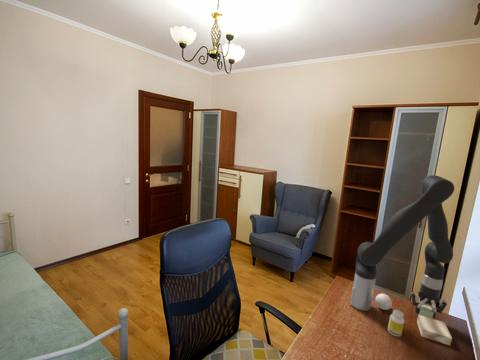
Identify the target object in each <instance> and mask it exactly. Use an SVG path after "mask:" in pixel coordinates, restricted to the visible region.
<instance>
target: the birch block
mask: <svg viewBox="0 0 480 360" xmlns="http://www.w3.org/2000/svg"><path fill="white" fill-rule="evenodd" d="M416 323H417V326H418V329H419V333H420V336H421V337H423V338H426V339H428V340H431V341H435V342H438V343H441V344H444V345H447V346H452V345H451V343H452V341H453V337H452V335H451V333H450V331H449V329H448V327H447V326H448V325H447V324H446V322H445V321H441V320H438V319H435V318H433V319H432V318H428V317H425V316H421V315H418V314H417V319H416Z"/></svg>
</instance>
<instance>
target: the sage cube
mask: <svg viewBox="0 0 480 360" xmlns="http://www.w3.org/2000/svg"><path fill="white" fill-rule="evenodd" d="M433 314H434V313H433V310H432V306H431V305H430V306H429V305H427V304H423V305H422V306H421V307H420V311H419V315H421V316H425V317H428V318H432V319H434V318H433Z"/></svg>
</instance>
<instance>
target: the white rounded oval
mask: <svg viewBox="0 0 480 360" xmlns="http://www.w3.org/2000/svg"><path fill="white" fill-rule="evenodd" d="M374 301H375V304H376V306H377V307H378V308H379V309H381V310H384V311H385V310H386V311H387V310H390V309H391V308H392V305H393V301H392V299H391V297H390V295H387V294H385V293H378V294H377V295H376V296H375V298H374Z"/></svg>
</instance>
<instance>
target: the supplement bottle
mask: <svg viewBox="0 0 480 360" xmlns="http://www.w3.org/2000/svg"><path fill="white" fill-rule="evenodd" d="M404 316H405V315H404V313H403V312H402V311H401V310H398V309H393V311H392V313H391V314H390V315H389V320H388V324H387V331H388V332H389V333H390V334H391V335H392V336H395V337H402V334H403V330H404V327H405V319H404Z"/></svg>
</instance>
